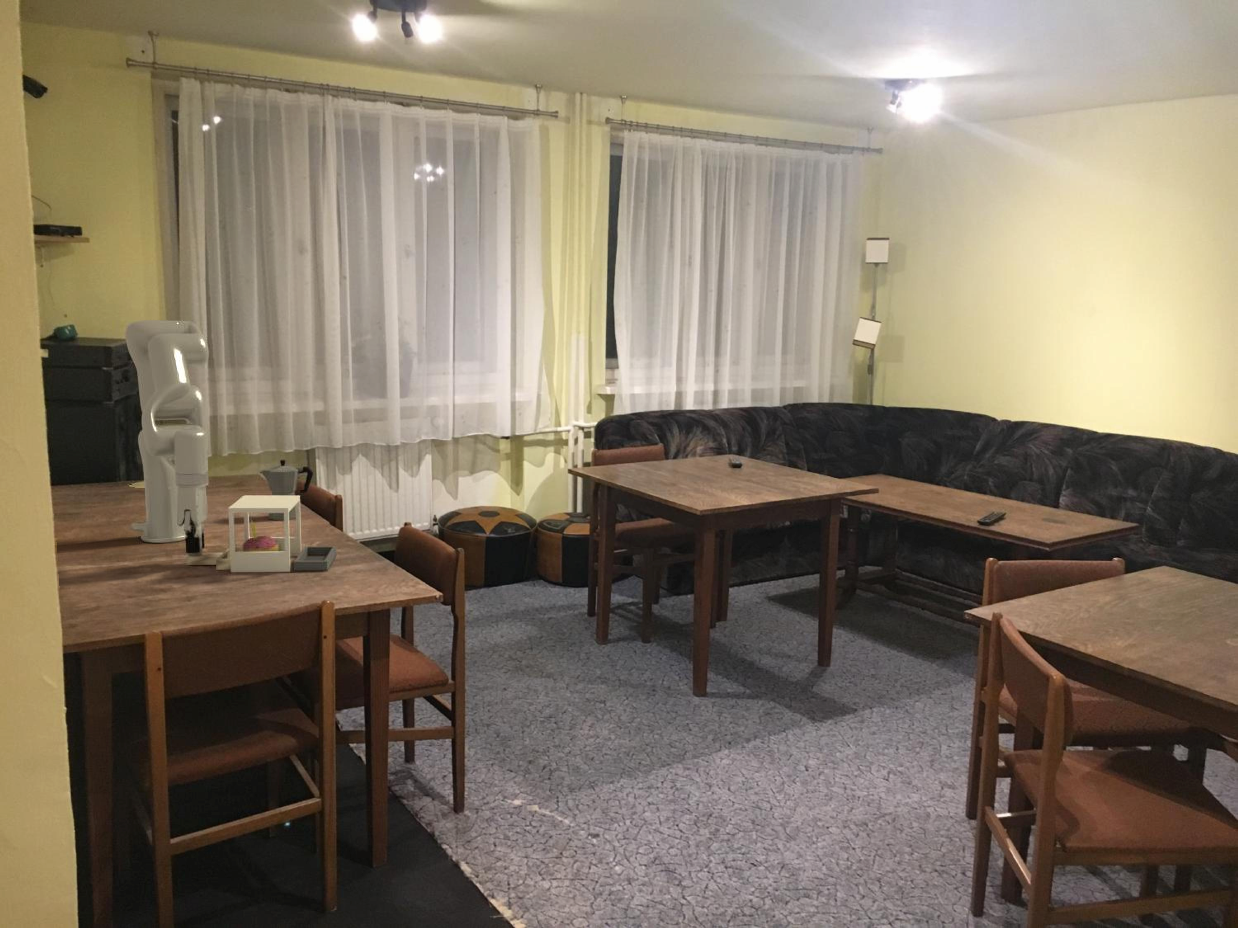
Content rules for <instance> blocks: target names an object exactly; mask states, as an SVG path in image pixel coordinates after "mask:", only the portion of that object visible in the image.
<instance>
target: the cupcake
mask: <svg viewBox="0 0 1238 928" xmlns="http://www.w3.org/2000/svg"><path fill="white" fill-rule="evenodd" d="M250 527H251V531H252V535H253V536H252V537H253V538H250V539H248V540H246V542H245V541H244V542H243V543H242V546H243V552H270V551H277V550H278V548H279V547H278V543H277V541H275V540H274V539H272V538H271V536H265V535H260V536H258V535H257V533H256V532H257V531H256V529H255V523H254V521H253V519H252V518H250Z"/></svg>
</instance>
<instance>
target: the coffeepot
mask: <svg viewBox="0 0 1238 928" xmlns="http://www.w3.org/2000/svg"><path fill="white" fill-rule="evenodd" d="M279 462H280V463H279V464H280V465H278V466H274V467H270V468H267V469H266V468H265V469H263V470H262V469H261V470H260V472H259V473H260V474H262V475H263V477H264V478H265V480H266V481H267V482H268V485H269V490H270V492H271V495H280V496H296V491H297V489H298V481H299V479H298V478H299V474H305V473H307V474H306V476H305V482H304V485H303V489H300V490H299V492H300V494H305V493H308V491H309V488H310V484H311V482H312V479H313V476H314V472H313V470H312V469H311V468H310V467H309V466H296V467H295V466H289V465H286V460H285V459H281V460H279ZM268 518H269V519H270V520H272V521H284V513H268ZM291 519H292V520H296V505H295V506H294V507H293V508H292V509H291V510H290V511H289V521H291Z"/></svg>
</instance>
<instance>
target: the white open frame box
mask: <svg viewBox="0 0 1238 928" xmlns="http://www.w3.org/2000/svg"><path fill="white" fill-rule="evenodd" d="M295 505H296V519H295V530H296V531H295V532H296V536H290V520H289V511H290V510H291V509H292V508H293V507H294V506H295ZM266 513H267V514H269V513H284V520H283V524H284V525H283V526H284V531H283V532H284V536H280V537H279V536H276V537H275V536H274V537H273V536H272V537H271V536H270V537H271V538H272V539H274V540H275V541H277V543H278V546H280V548H281V551H270V552H235V546H236V539H235V538H236V537H235V536H236V535H235V514H243V523H244V524H243V525H244V528H243V529H244V543H245V542H246V540H248V539H250V538H253V537H254V536H252V537H251V536H250V515H249V514H266ZM301 524H302V523H301V495H295V496H280V495H272V494H271V495H255V494H254V495H246V494H245V495H243V496H241V497H240V498H239V499H238V500H236V501H235V502H234V503H233V504H231V505H230V506H229V507H228V530H229V535H228V536H229V547H230V560H231V569H230V572H231V573H273V572H274V573H277V572H278V573H279V572H281V573H283V572H284V573H285V572H286V573H287V572H288V573H289V572H291V557H298V555H299V554H300V553H301V551H302V529H301Z"/></svg>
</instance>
